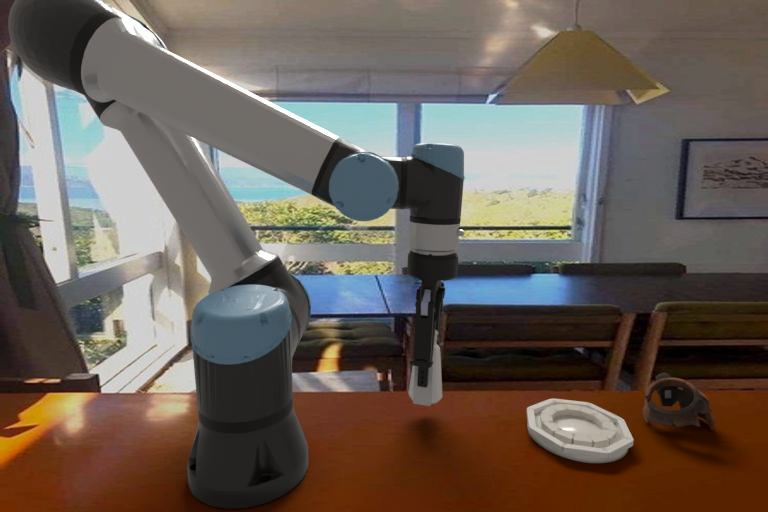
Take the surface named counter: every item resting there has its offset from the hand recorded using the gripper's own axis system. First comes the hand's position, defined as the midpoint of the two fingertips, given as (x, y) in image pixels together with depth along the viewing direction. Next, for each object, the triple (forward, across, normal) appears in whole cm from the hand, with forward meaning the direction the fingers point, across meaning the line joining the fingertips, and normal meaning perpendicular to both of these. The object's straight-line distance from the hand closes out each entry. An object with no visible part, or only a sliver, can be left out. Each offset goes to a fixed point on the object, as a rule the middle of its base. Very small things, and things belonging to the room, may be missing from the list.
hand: (425, 394), depth 74 cm
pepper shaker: (+1, 0, 0) cm, 1 cm away
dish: (+3, 0, -23) cm, 23 cm away
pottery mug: (+3, +8, -38) cm, 39 cm away
